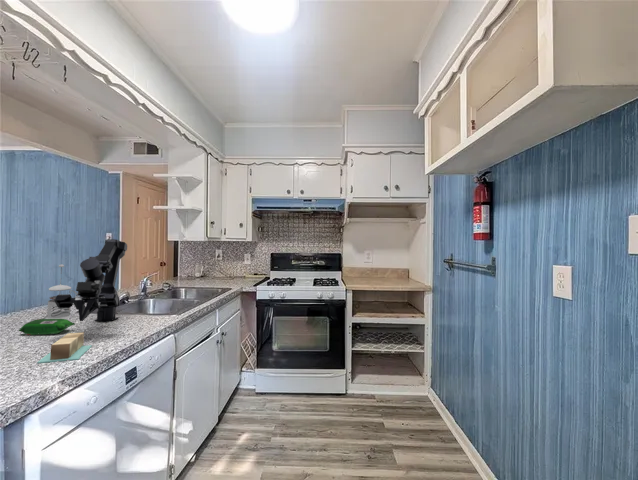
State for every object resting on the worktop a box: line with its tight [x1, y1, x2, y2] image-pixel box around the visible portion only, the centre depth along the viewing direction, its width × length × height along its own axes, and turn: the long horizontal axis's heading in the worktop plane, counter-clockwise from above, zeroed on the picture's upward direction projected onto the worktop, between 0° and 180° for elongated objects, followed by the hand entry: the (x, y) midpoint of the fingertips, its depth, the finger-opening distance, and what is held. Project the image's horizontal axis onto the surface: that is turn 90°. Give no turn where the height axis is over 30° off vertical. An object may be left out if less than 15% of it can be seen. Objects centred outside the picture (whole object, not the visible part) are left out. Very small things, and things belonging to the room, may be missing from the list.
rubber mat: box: [36, 344, 93, 364], centre depth 93 cm, size 12×10×1 cm
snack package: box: [18, 318, 76, 336], centre depth 112 cm, size 7×16×5 cm, turn 101°
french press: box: [44, 264, 79, 320], centre depth 133 cm, size 10×12×25 cm
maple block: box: [50, 332, 85, 360], centre depth 94 cm, size 4×4×12 cm
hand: (81, 320), depth 104 cm, fingers closed
